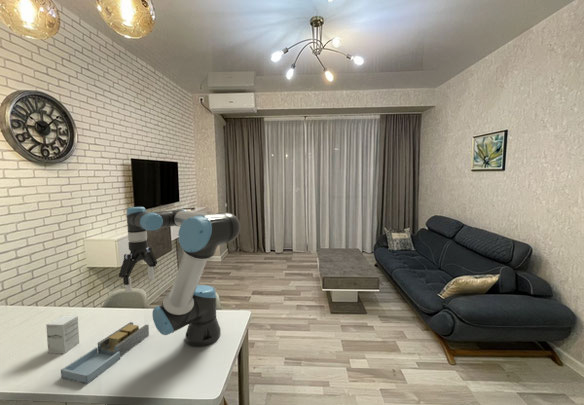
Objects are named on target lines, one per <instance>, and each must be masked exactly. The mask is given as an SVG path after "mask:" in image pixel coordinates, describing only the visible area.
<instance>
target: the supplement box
mask: <svg viewBox="0 0 584 405" xmlns="http://www.w3.org/2000/svg"><path fill="white" fill-rule="evenodd" d="M45 325H46V339H47V340H46V342H47V353H48V354H66V353H67V352H69V351H71V350H72V349H73V348H74V347H76V346H78V344H80V333H79V316H78V315H60V316H58V317H56V318H55V319H54V320H52V321H50V322H48V323H46V324H45ZM71 348H72V349H71Z"/></svg>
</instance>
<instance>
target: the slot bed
mask: <svg viewBox="0 0 584 405" xmlns="http://www.w3.org/2000/svg"><path fill="white" fill-rule="evenodd" d="M129 324H131V325H134V322H129V323H127V324H125V325H124V326H122V327H121V328H119V329H116V330H115V331H114V332H112V333H111V334H110V335H108V336H106V337H105V338H104V339H101V340H100V341H99V342H97V349H98V353H99V354H104V355H110V356H113V355H114V354H116V353H117V352H120V358H121V357H122V356H124V355H125V354H126V353H127V352H129V351H131V350H132V349H133V348H134V347H136V346H137V345H139V343H141V342H142V341H144V340H145V339H146V338H147V337H149V336H150V330H149V329H150V327H149V326H150V325H149V324H144V325H143V326H141V327H140V328H139V330H137V331H136V332H134V333H133V334H131V335H130V336H128V337H127V338H126V339H124V340H123V341H121V342H120V343H118V344H117V345H115V347H114V346H109V337H110V336H112V335H113V334H115V333H117V332H118V331H119V332H121V329H123V328H124V327H126V326H127V325H129Z"/></svg>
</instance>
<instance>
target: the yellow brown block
mask: <svg viewBox="0 0 584 405" xmlns="http://www.w3.org/2000/svg"><path fill="white" fill-rule="evenodd" d="M112 334H113V333H112ZM127 337H128V333H125V332H119V331H118V332H117V333H115V334H113V335H112V336H110V337H109V346H114V347H115V345H117V344H118V343H120V342H121V341H123V340H124V339H126V338H127Z"/></svg>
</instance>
